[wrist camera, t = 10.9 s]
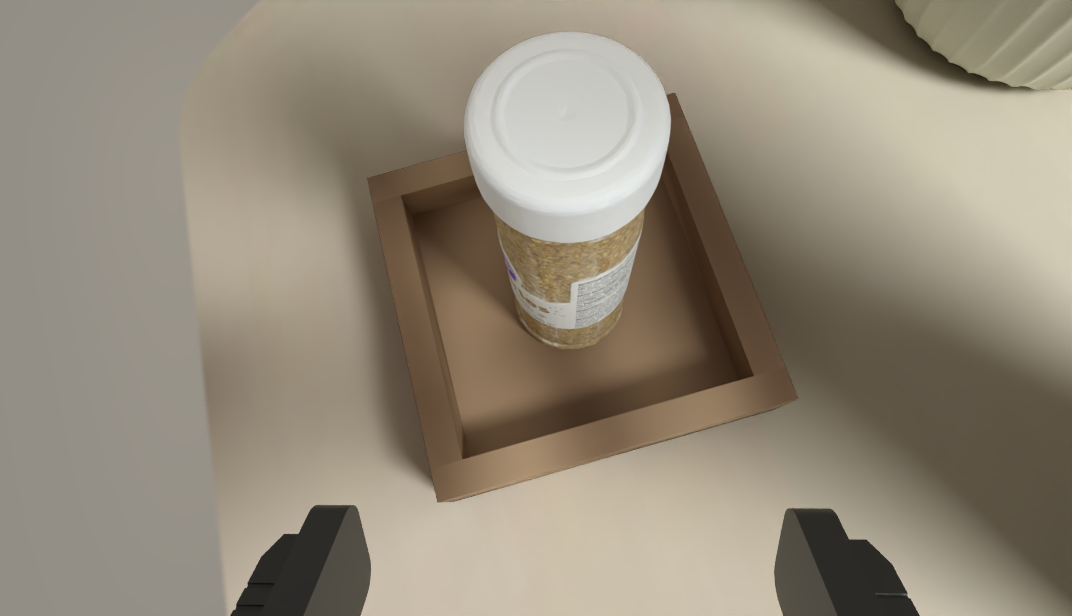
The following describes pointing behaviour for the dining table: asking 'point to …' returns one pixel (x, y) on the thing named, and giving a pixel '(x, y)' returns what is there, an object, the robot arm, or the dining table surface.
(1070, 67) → the canister
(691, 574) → the dining table surface
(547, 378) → the tray
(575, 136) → the spice jar
